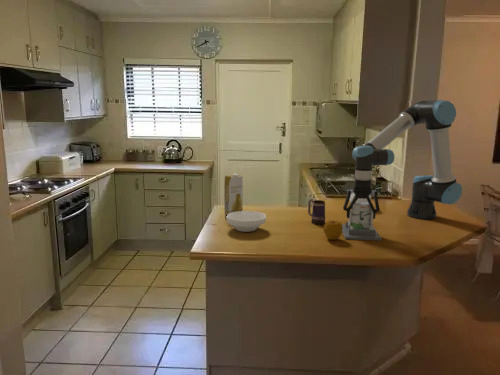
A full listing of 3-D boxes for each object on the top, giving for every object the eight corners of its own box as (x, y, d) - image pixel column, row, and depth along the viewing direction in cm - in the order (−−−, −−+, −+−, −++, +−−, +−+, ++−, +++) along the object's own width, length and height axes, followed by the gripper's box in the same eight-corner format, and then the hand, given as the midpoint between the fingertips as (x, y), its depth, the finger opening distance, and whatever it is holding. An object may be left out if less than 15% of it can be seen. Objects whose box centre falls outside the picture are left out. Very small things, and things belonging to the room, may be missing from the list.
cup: (374, 209, 241) (375, 193, 239) (360, 212, 234) (361, 196, 232) (358, 205, 251) (359, 190, 249) (344, 207, 244) (345, 192, 242)
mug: (327, 223, 211) (328, 200, 208) (319, 225, 206) (320, 202, 204) (312, 219, 218) (313, 197, 216) (304, 221, 213) (304, 199, 211)
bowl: (220, 226, 203) (220, 213, 202) (256, 222, 211) (256, 209, 209) (234, 237, 185) (234, 222, 184) (272, 233, 193) (273, 218, 192)
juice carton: (231, 218, 218) (231, 175, 213) (222, 215, 223) (222, 173, 219) (244, 216, 224) (244, 173, 219) (235, 213, 229) (235, 171, 225)
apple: (329, 243, 178) (330, 224, 177) (319, 237, 186) (320, 219, 184) (345, 241, 182) (346, 222, 180) (334, 235, 190) (335, 217, 188)
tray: (372, 228, 202) (373, 220, 201) (381, 240, 183) (381, 231, 182) (340, 226, 204) (340, 218, 203) (345, 239, 184) (345, 230, 184)
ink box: (357, 229, 189) (358, 205, 186) (349, 227, 193) (351, 203, 191) (370, 227, 193) (372, 203, 190) (363, 224, 197) (364, 201, 195)
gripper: (385, 178, 191) (382, 223, 195) (338, 177, 193) (336, 222, 197) (389, 180, 183) (385, 228, 188) (340, 179, 186) (337, 226, 190)
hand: (360, 224), depth 193 cm, fingers closed on ink box, 9 cm apart
